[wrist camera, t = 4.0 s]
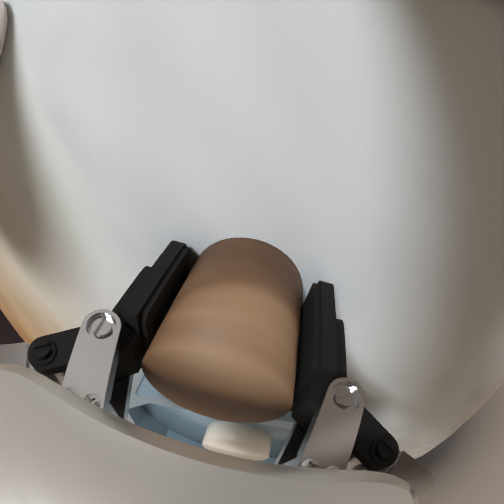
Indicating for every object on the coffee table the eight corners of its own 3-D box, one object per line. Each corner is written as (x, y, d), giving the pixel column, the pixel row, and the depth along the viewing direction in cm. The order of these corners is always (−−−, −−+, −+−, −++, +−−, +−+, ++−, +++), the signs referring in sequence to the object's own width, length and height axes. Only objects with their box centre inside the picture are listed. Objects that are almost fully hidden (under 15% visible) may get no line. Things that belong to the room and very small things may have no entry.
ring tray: (218, 316, 12) (200, 364, 10) (400, 429, 18) (402, 454, 16) (105, 388, 23) (94, 407, 21) (249, 458, 29) (245, 475, 26)
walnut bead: (241, 214, 9) (190, 323, 5) (325, 291, 11) (325, 406, 6) (175, 278, 12) (122, 370, 8) (250, 334, 13) (226, 428, 9)
